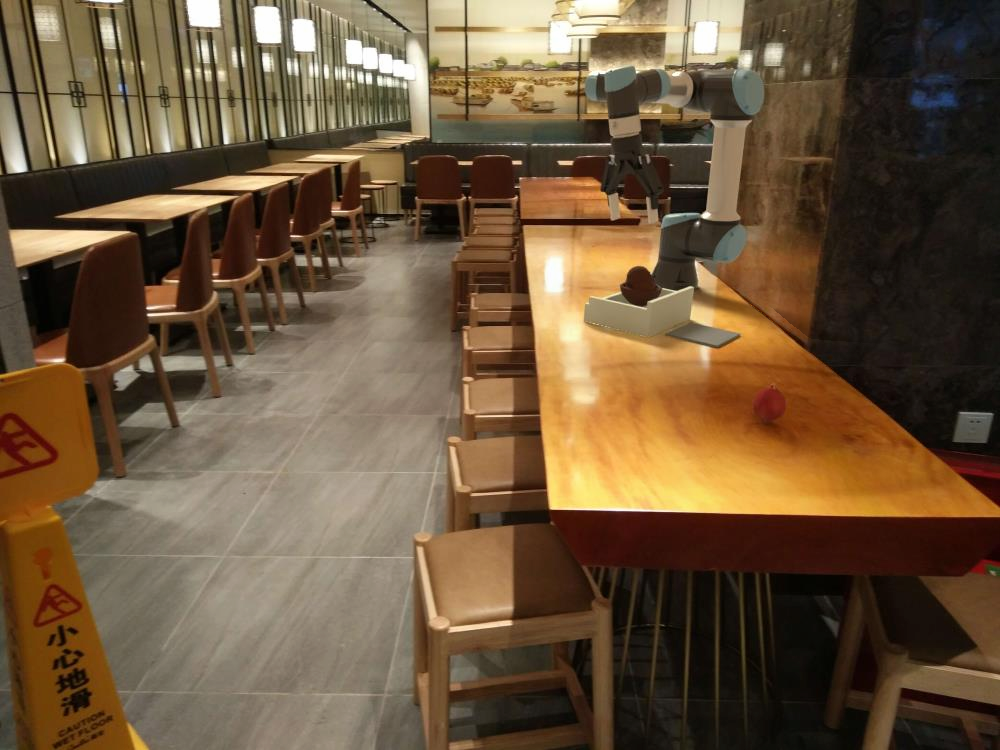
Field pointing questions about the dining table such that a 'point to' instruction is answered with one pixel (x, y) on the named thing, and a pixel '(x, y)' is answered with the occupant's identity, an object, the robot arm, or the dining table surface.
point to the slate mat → (703, 334)
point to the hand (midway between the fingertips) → (634, 220)
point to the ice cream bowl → (640, 287)
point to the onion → (769, 404)
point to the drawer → (641, 312)
